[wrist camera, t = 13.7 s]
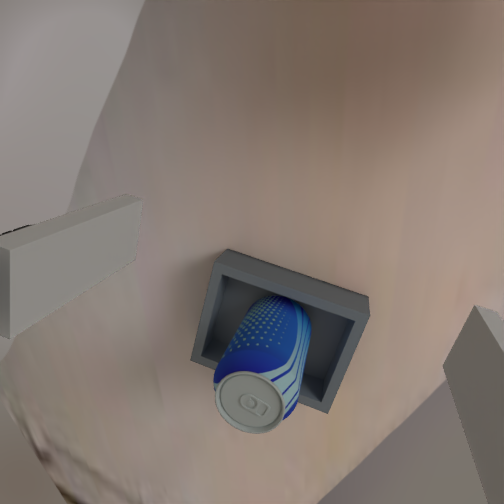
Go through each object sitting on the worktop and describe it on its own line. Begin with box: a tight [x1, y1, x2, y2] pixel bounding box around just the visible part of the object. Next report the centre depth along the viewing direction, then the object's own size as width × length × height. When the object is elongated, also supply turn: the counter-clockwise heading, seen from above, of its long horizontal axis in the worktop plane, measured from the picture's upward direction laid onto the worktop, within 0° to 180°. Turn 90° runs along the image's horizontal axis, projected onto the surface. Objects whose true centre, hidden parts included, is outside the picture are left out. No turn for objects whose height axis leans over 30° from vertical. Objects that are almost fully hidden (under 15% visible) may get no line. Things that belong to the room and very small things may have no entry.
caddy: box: [191, 249, 370, 414], centre depth 48 cm, size 14×18×5 cm
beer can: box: [214, 295, 312, 434], centre depth 43 cm, size 8×8×16 cm
